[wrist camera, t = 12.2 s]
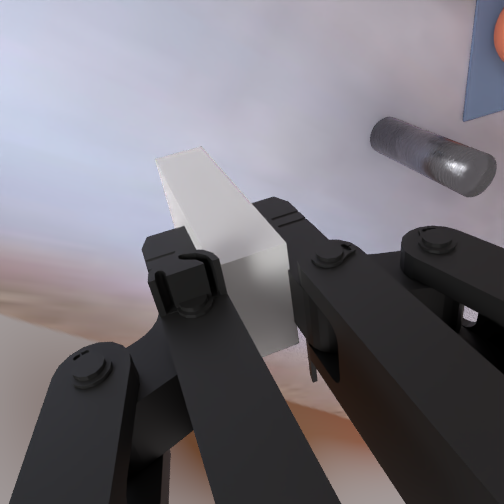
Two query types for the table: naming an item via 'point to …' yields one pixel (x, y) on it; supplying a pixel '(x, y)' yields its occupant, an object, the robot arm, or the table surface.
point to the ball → (499, 35)
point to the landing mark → (484, 64)
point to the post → (434, 156)
